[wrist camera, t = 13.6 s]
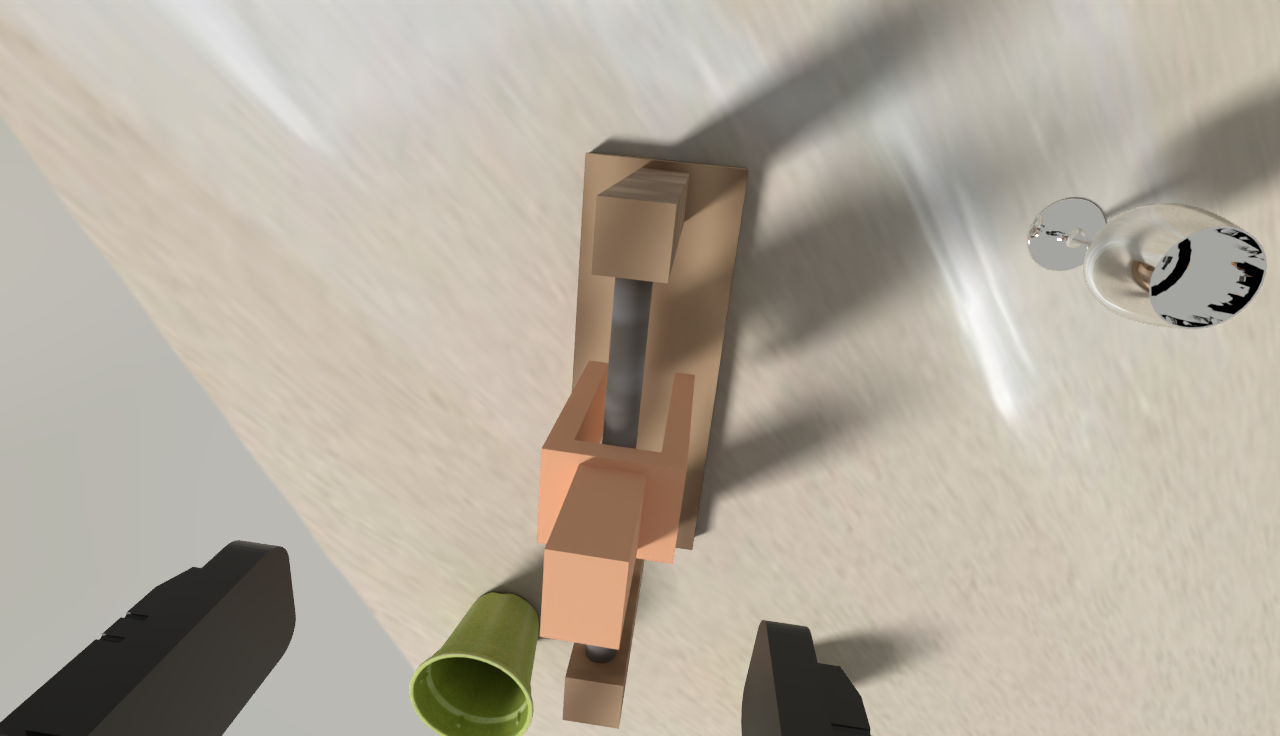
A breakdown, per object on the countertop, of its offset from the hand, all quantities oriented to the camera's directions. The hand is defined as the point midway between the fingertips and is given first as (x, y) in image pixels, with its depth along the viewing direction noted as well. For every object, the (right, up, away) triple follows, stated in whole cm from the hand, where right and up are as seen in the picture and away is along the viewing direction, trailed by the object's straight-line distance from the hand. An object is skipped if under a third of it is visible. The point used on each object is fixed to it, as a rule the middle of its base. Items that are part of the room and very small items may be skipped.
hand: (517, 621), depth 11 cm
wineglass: (+28, +13, +29) cm, 42 cm away
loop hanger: (+2, +2, +28) cm, 28 cm away
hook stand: (+3, +4, +35) cm, 35 cm away
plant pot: (-10, -17, +45) cm, 49 cm away
